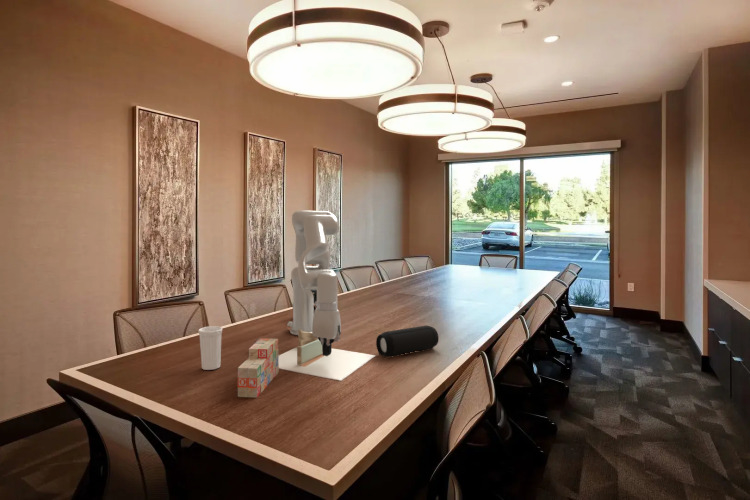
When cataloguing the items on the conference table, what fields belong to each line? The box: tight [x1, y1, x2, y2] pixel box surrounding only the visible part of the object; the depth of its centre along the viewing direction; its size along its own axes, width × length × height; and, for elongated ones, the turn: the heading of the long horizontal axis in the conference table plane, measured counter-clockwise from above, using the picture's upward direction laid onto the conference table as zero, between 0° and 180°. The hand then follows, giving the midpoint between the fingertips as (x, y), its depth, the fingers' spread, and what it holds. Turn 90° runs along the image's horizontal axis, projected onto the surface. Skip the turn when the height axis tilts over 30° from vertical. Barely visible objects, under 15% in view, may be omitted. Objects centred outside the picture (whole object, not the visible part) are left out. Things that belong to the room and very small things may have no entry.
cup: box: [197, 325, 223, 371], centre depth 148 cm, size 8×8×14 cm
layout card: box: [278, 346, 376, 382], centre depth 158 cm, size 34×28×1 cm
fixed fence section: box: [297, 329, 333, 349], centre depth 170 cm, size 16×2×8 cm, turn 66°
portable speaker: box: [375, 325, 439, 358], centre depth 168 cm, size 26×10×10 cm, turn 121°
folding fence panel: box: [296, 339, 323, 364], centre depth 158 cm, size 18×2×6 cm, turn 150°
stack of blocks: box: [237, 337, 280, 399], centre depth 135 cm, size 21×6×12 cm, turn 176°
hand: (326, 354), depth 153 cm, fingers closed
